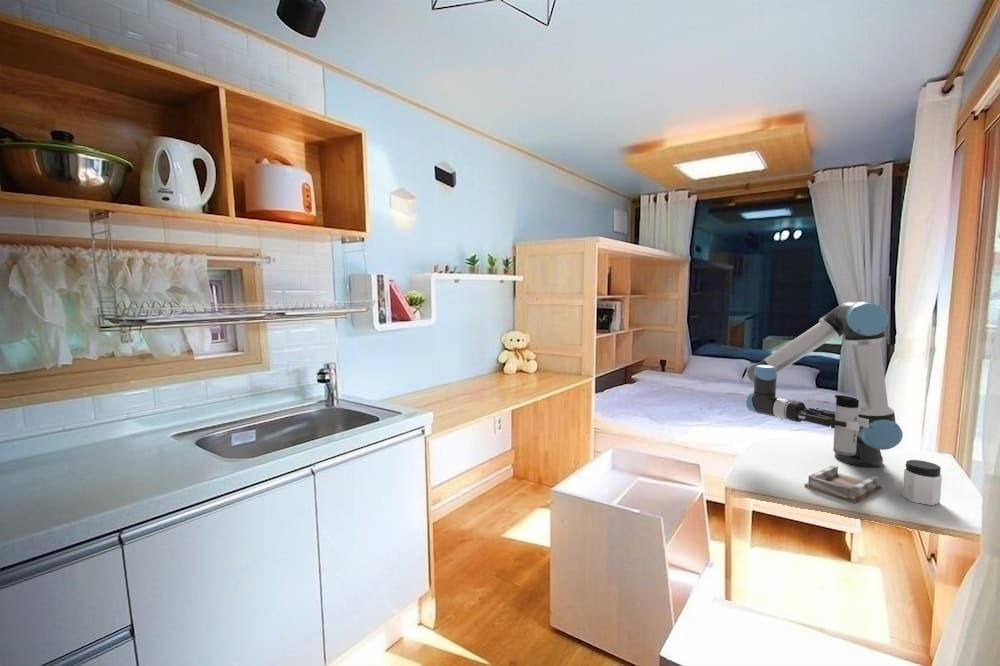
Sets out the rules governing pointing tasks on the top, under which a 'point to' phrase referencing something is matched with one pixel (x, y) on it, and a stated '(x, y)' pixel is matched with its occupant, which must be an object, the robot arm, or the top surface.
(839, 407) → the travel mug
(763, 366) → the robot arm
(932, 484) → the jar
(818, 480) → the tray
